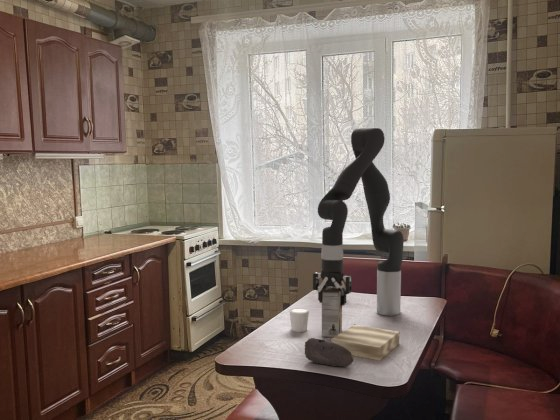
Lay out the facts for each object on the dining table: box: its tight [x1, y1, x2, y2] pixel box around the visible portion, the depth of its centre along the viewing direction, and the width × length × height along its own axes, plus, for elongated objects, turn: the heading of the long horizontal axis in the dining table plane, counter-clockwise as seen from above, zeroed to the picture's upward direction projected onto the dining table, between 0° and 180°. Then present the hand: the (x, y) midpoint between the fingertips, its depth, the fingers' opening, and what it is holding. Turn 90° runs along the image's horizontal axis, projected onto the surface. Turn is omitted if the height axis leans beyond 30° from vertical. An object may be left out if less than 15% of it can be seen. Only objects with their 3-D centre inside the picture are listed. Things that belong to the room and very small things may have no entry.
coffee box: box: [321, 286, 343, 338], centre depth 193 cm, size 9×6×16 cm
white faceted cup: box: [289, 307, 310, 333], centre depth 198 cm, size 7×7×7 cm
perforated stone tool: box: [304, 337, 354, 368], centre depth 164 cm, size 15×5×7 cm, turn 59°
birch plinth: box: [331, 324, 400, 361], centre depth 179 cm, size 18×16×4 cm
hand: (332, 303), depth 193 cm, fingers closed on coffee box, 7 cm apart
